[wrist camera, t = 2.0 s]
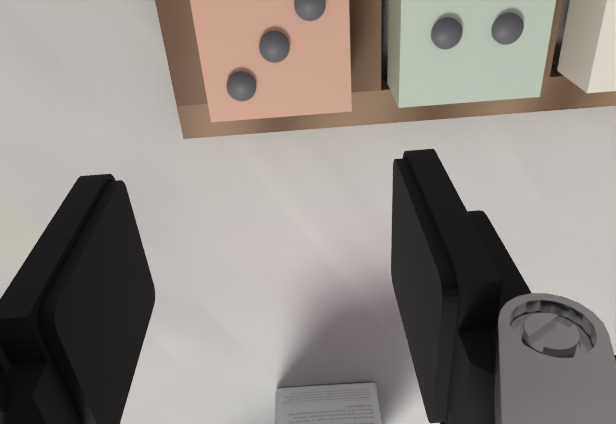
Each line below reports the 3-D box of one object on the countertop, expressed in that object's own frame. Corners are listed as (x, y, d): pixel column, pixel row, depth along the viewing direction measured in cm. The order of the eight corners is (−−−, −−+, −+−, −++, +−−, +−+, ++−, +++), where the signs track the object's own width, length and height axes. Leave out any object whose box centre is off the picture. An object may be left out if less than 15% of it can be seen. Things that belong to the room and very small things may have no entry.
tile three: (340, -54, 23) (348, -42, 20) (345, 86, 26) (352, 113, 23) (195, -42, 23) (183, -29, 20) (217, 96, 26) (210, 124, 23)
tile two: (534, -69, 23) (568, -59, 20) (514, 73, 26) (541, 98, 23) (389, -57, 23) (403, -46, 20) (387, 83, 26) (399, 109, 23)
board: (769, -145, 23) (797, -146, 22) (693, 87, 28) (713, 97, 27) (143, -96, 23) (135, -94, 22) (188, 126, 28) (183, 138, 27)
